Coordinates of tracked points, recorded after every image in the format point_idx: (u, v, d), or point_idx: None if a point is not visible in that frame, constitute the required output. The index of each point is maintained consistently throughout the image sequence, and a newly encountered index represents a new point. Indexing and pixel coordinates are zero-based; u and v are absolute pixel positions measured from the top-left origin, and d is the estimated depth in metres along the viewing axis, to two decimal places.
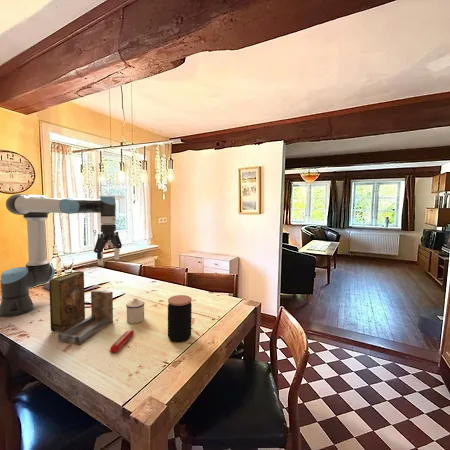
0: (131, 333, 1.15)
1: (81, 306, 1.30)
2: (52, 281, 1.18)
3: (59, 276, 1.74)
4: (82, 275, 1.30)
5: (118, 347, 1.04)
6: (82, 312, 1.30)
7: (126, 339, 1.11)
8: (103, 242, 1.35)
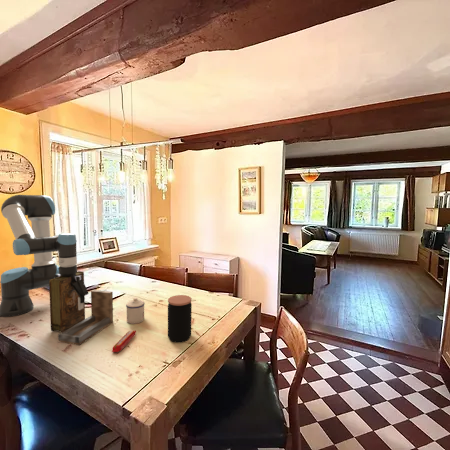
0: (133, 333, 1.15)
1: None
2: (52, 281, 1.18)
3: None
4: (82, 275, 1.30)
5: (120, 347, 1.04)
6: (82, 312, 1.30)
7: (128, 339, 1.11)
8: None
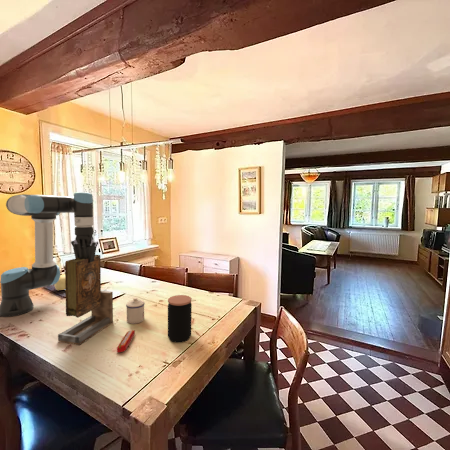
0: (133, 333, 1.16)
1: (97, 291, 1.22)
2: (68, 262, 1.10)
3: None
4: (99, 258, 1.22)
5: (125, 347, 1.05)
6: (98, 298, 1.23)
7: (130, 339, 1.11)
8: None
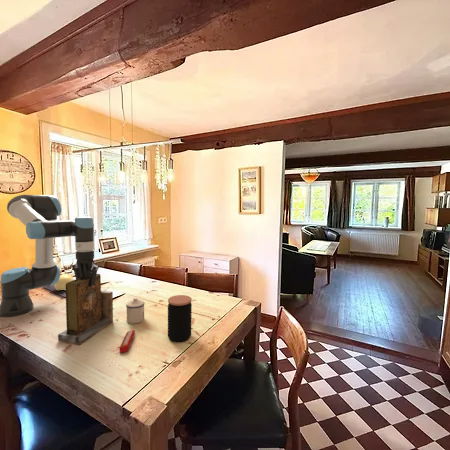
0: (133, 333, 1.16)
1: (98, 310, 1.23)
2: (68, 284, 1.11)
3: None
4: (99, 278, 1.23)
5: (127, 347, 1.05)
6: (99, 317, 1.24)
7: (131, 339, 1.11)
8: None
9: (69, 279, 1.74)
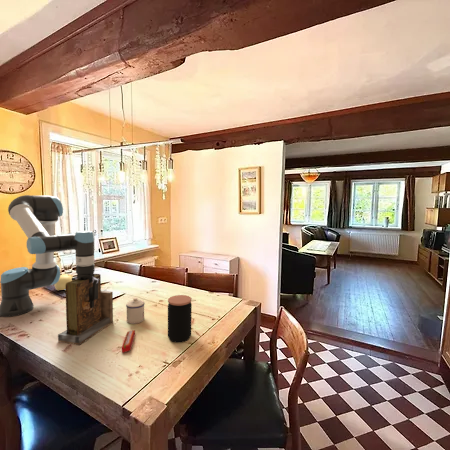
0: (134, 332, 1.16)
1: (98, 310, 1.23)
2: (68, 284, 1.11)
3: None
4: (99, 278, 1.23)
5: (130, 346, 1.05)
6: (99, 317, 1.24)
7: (132, 338, 1.11)
8: None
9: (69, 279, 1.74)
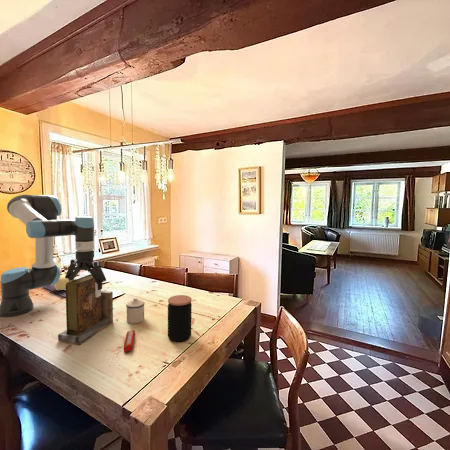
0: (134, 332, 1.16)
1: (98, 310, 1.23)
2: (68, 284, 1.11)
3: None
4: None
5: (132, 346, 1.05)
6: (99, 317, 1.24)
7: (133, 338, 1.12)
8: None
9: None
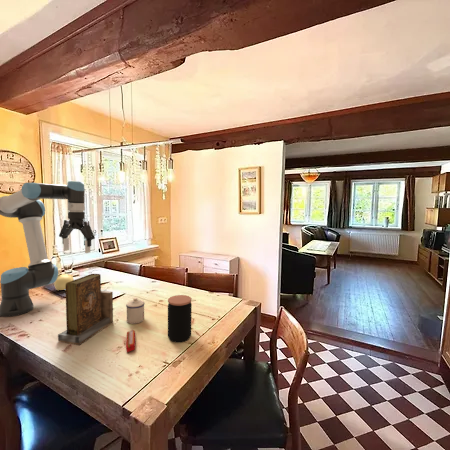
0: (134, 332, 1.16)
1: (98, 310, 1.23)
2: (68, 284, 1.11)
3: (59, 276, 1.74)
4: (99, 278, 1.23)
5: (134, 345, 1.06)
6: (99, 317, 1.24)
7: None
8: None
9: (69, 279, 1.74)
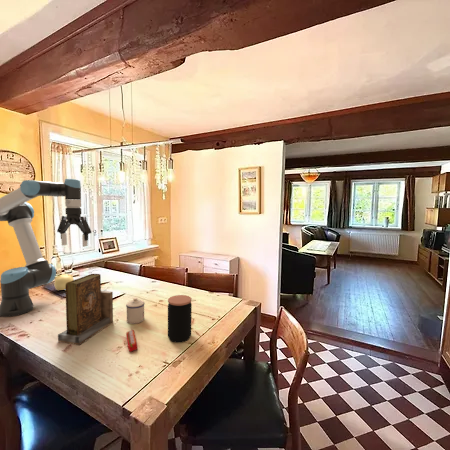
0: (134, 332, 1.16)
1: (98, 310, 1.23)
2: (68, 284, 1.11)
3: (59, 276, 1.74)
4: (99, 278, 1.23)
5: (136, 345, 1.06)
6: (99, 317, 1.24)
7: (135, 338, 1.12)
8: None
9: (69, 279, 1.74)
